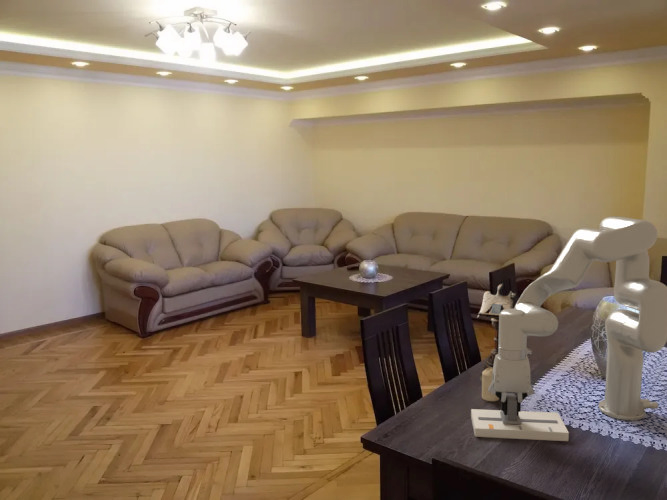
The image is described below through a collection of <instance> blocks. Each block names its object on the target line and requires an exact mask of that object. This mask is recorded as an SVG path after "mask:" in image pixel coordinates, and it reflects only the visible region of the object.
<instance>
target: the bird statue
mask: <svg viewBox="0 0 667 500" xmlns="http://www.w3.org/2000/svg"><path fill="white" fill-rule="evenodd" d="M503 289H504V283H500V284H499V285H498V286H497V292H496V294H493V293H491V291H489V290H487V291H484V293H483V297H482V304H481V307H480V310H479V312H478V313H477V314H478V315H477V317H476V319H478V318H480V317H481V316H483V317H485V318H490V321H491V326H492V327H493V328H494V338H493V340H494V343H493V345H494V348H493V349H492V350H491V351H490V356H489V358H488V359H487V360H486V362H485V363H484V367H483V370H482V371H481V373H480V375H479V381H480V382H482V372H483V371H484V370H485V369H487V368H491V367H493V365H494V359H495V355H497V354H498V346H499V314H500V312H501V311H502V310H504V309H514V307H515V305H516V299H517V294H516V293H513V292H512V290H510V291H509V293H508V295H504V294H503ZM490 309H491V310H490ZM488 311H489V312H488Z"/></svg>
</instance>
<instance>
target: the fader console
mask: <svg viewBox="0 0 667 500" xmlns="http://www.w3.org/2000/svg"><path fill="white" fill-rule="evenodd" d="M500 411H501V409H500V410H499V409H476V408H471V409H470V418H471V424H472V428H473V433H474V437H478V438H479V437H480V438H492V439H493V438H497V439H512V440H513V439H516V440H517V439H518V440H537V441H555V442H556V441H560V442H569V440H570V439H569V437H570V436H569V435H570V432H569V431H568V428H567V427H566V425H565V423H564V421H563V419H562V417H561V416H560V414H559V413H558V412H548V411H546V412H545V411H527V410H526V411H525V410H521V412H519V417H520V419H521V424H503V422H502V419H501V415H500Z"/></svg>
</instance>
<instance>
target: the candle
mask: <svg viewBox="0 0 667 500" xmlns="http://www.w3.org/2000/svg"><path fill="white" fill-rule="evenodd" d="M482 371H483V370H482ZM482 371H481V373H482V381H481V399H483V401H487V402H497V401H499V400H500V399H499V398H498V397H497V396H496V395H494V394H492V393H490V392H489V391H488V388H489V386H490V384H491V383H492V375H493V367H491V368H487V369H485V370H484V371H483V372H482Z"/></svg>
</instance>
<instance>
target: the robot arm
mask: <svg viewBox="0 0 667 500" xmlns="http://www.w3.org/2000/svg"><path fill="white" fill-rule="evenodd" d="M598 226H599V227H598V229H596V228H590V227H583V228H579V229H578V228H577V230H575V231H574V232H573V233H572V234H571V236H570V238H569V239H568V240H567V242H566V244H565V246H564V247H563V248H562V250H561V252H560V253H559V255H558V257H557V258H556V260H555V262H554V263H553V265H552V266H551V268H550V269H549V270H548V271H547V272H545V273H544V274H542V275H540V276H539V277H537V278H536V280H534V281H532V282H531V283H530V284H529V285H528V286H527V287H526V288H525V289H524V290H523V292H522V294H521V295H520V297H518V299H517V302H515V304H514V309H503V310H502V311H501V312H500V314H499V346H498V354H497V355H495V359H494V365H493V375H492V383H491V384H490V386H489V388H488V391H489V392H490V393H492V394H494V395H496V396H497V397H498V398H499V400H500V410H501V411H503V413H504V415H507V401H506V393H515V397H516V399H517V416H518V415H519V412H521V411H522V410H521V409H522V407H521V406H522V402H523V401H524V400H525V399H526V398H527V397H530V396H532V395H535V389H534V388H533V386H532V383H531V382H532V381H531V366H530V359H529V356H528V355H529V354H530V355H532V353H533V352H532V349H531V348H528V347H527V343H528V342H527V338H528V336H529V337H530V336H531V337H548V336H551V335H553V334H554V333H555V332H556V331H557V330H558V328H559V320H558V318H557V316H556V315H555V314H554V313H553V312H552V311H550V310H547V309H545V308H543V307H541V306H542V305H543V304H544V302H545V301H546V300H547V299H548V298H549V297H550V296H552V295H554V294H557V293H559V292H562V291H566V290H571V289H574V288H576V287H578V286H579V285H580V283H581V281H582V280H583V278H584V277H585V275H586V273H587V272H588V270H589V269H590V267H591V266H592V264H593V263H594V261H597V262H601V263H610V262H615V276H614V286H613V287H614V288H613V297H614V300H615V301H616V302H617V303H618V304H620V305H622V306H624V307H627V308H629V309H632V310H636V311H638V312H635V311H632V310H629V309H624V308H623V309H616V310H613V311H611V312H610V313H609V314H608V315H607V317H606V320H605V323H604V324H605V325H604V328H605V329H604V330H605V335H606V336H605V337H606V343H607V345H606V346H607V348H606V349H607V350H606V352H607V354H606V369H605V371H606V372H605V373H606V374H605V386H604V387H605V389H604V399H603V400H601V401H600V402H598V410H600V412H601V413H603V414H605V415H607V416H608V417H612V418H614V419H617V420H624V421H639V420H641V419H644V418H645V417H646V410H647V409H651V410H653V409H654V410H655V409H658V408H659V404H658V402H656V401H650V399H647V398H646V399H645V398H644V399H643V398H642V397H641V396H642V381H643V379H642V378H643V366H644V354H643V352H646V353H657V352H659V351H660V350H662V349H663V348H664V347H665V345H666V343H667V285H666V284H664V283H663V282H660V281H658V280H654V279H650V256H649V251H648V250H649V249H650V248H652V247H653V246H654V245H655V243H656V241H657V239H658V229H657V227H656V226H655V225H654V223H652V222H650V221H649V220H645V219H637V218H631V217H626V216H625V217H624V216H607V217H605V218H603V219H602V220H601V222H600V223H599V225H598Z"/></svg>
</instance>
